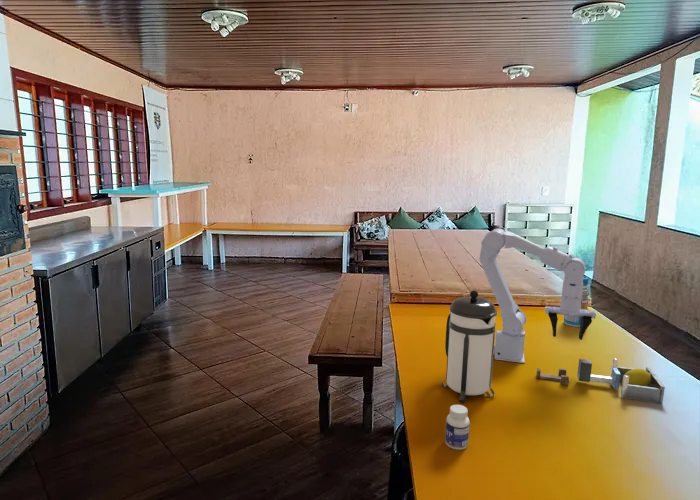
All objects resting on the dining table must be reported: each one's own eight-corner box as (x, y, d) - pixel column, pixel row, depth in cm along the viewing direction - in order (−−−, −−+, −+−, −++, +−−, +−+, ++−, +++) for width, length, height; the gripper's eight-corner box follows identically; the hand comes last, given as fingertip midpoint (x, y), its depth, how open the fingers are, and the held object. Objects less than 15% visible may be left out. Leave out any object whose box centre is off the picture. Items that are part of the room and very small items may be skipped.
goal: (621, 398, 134) (624, 376, 132) (610, 377, 147) (612, 357, 145) (662, 404, 131) (666, 382, 130) (647, 382, 144) (650, 362, 143)
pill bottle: (442, 437, 113) (444, 403, 111) (463, 436, 113) (466, 402, 112) (448, 450, 108) (451, 415, 106) (471, 450, 108) (473, 414, 107)
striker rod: (578, 384, 141) (581, 363, 140) (576, 377, 145) (578, 357, 144) (618, 389, 138) (621, 368, 137) (615, 383, 142) (617, 362, 141)
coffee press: (501, 386, 139) (509, 287, 134) (486, 410, 126) (495, 301, 120) (444, 372, 148) (449, 279, 143) (425, 393, 134) (430, 291, 129)
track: (537, 381, 143) (538, 373, 143) (535, 372, 149) (536, 365, 149) (570, 385, 141) (570, 377, 140) (566, 376, 147) (567, 369, 146)
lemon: (629, 396, 137) (658, 387, 135) (622, 380, 136) (651, 370, 134) (623, 386, 142) (650, 377, 140) (615, 370, 142) (643, 361, 139)
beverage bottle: (564, 326, 193) (569, 278, 189) (561, 319, 201) (566, 273, 197) (587, 328, 190) (592, 280, 187) (583, 321, 198) (588, 275, 195)
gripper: (548, 297, 147) (544, 338, 149) (599, 301, 143) (594, 344, 145) (545, 291, 154) (541, 331, 156) (595, 295, 149) (590, 336, 152)
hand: (567, 337), depth 151 cm, fingers open, 7 cm apart
